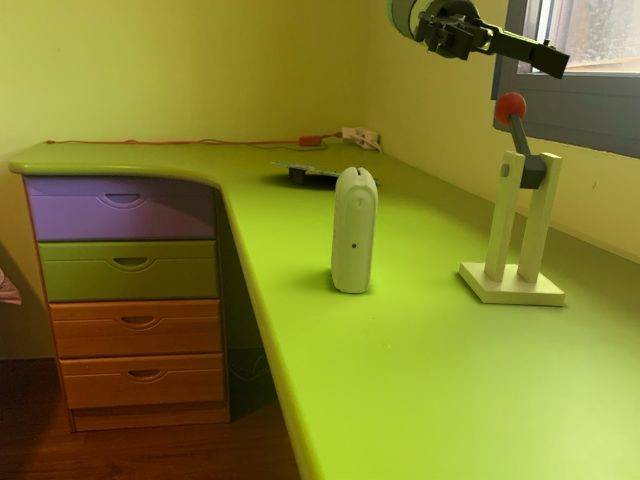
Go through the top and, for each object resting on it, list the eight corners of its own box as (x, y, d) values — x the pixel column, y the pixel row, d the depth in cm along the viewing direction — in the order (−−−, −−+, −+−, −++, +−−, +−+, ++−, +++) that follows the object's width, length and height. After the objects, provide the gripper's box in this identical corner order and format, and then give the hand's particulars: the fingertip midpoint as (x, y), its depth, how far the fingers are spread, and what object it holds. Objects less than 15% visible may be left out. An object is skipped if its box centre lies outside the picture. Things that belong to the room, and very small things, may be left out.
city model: (404, 196, 146) (409, 166, 143) (333, 192, 128) (338, 157, 126) (316, 181, 160) (320, 153, 158) (242, 175, 143) (245, 143, 141)
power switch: (458, 273, 86) (477, 145, 79) (528, 276, 86) (554, 149, 79) (483, 303, 75) (508, 159, 68) (563, 306, 76) (596, 163, 69)
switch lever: (489, 114, 84) (497, 85, 81) (517, 115, 84) (527, 87, 81) (510, 193, 75) (521, 164, 72) (542, 194, 76) (554, 166, 73)
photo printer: (372, 294, 76) (383, 176, 70) (333, 293, 75) (341, 174, 69) (363, 269, 85) (372, 162, 79) (328, 267, 84) (335, 160, 79)
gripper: (509, 67, 105) (587, 105, 89) (358, 37, 96) (415, 74, 81) (528, 11, 101) (613, 41, 85) (372, -26, 92) (434, 1, 76)
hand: (517, 57), depth 83 cm, fingers open, 13 cm apart
